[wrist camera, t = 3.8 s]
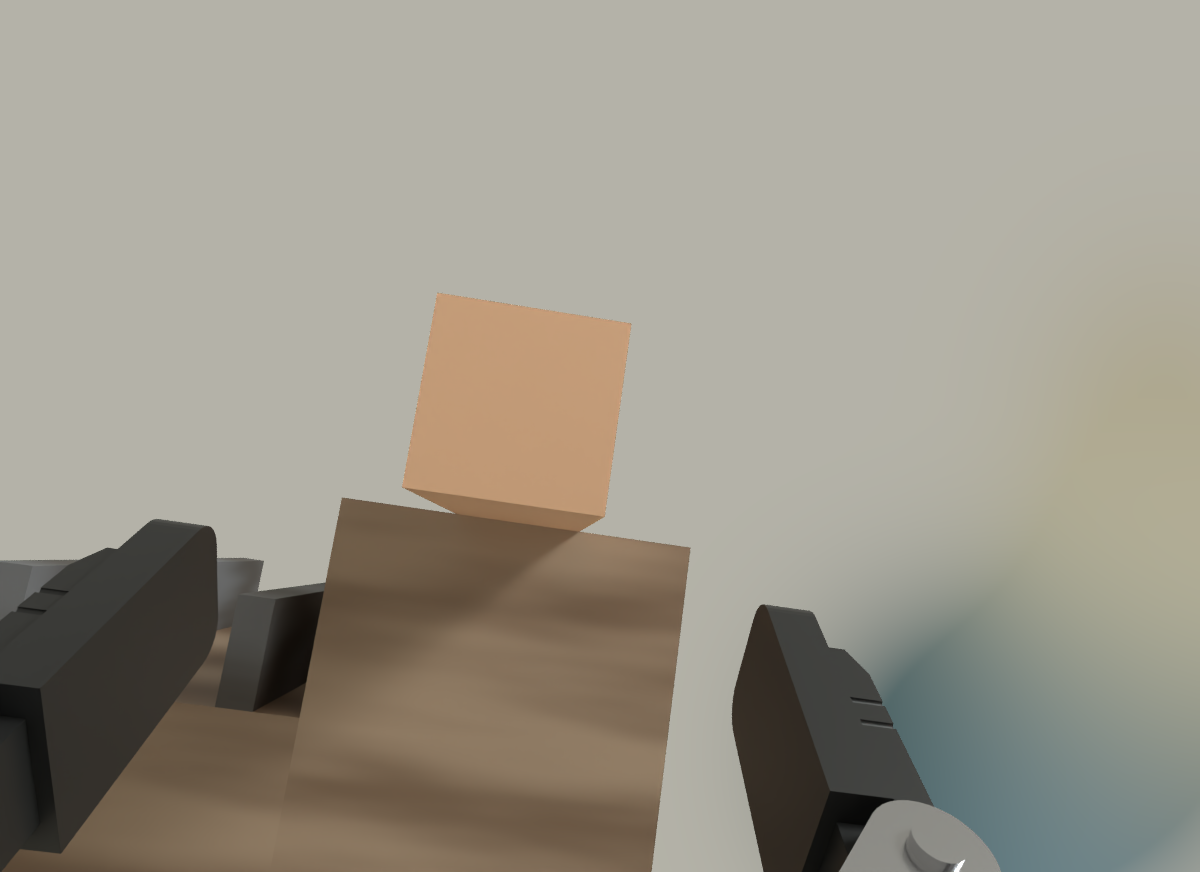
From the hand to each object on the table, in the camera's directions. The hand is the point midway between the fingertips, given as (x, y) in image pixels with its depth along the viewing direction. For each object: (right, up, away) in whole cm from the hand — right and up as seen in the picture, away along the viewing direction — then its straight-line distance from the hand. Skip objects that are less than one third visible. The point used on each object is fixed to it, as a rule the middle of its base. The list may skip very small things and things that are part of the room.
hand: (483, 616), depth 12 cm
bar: (-1, 0, +15) cm, 15 cm away
